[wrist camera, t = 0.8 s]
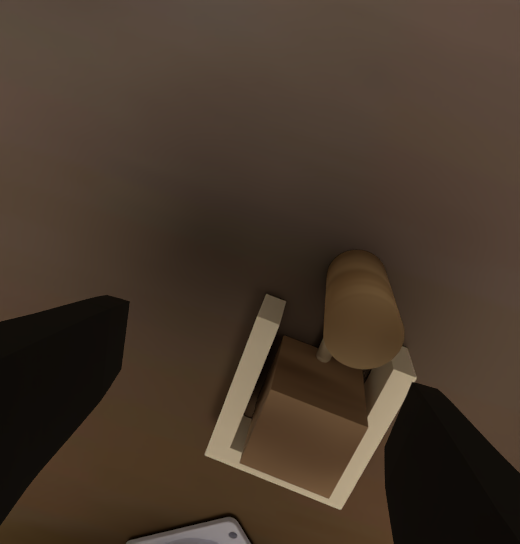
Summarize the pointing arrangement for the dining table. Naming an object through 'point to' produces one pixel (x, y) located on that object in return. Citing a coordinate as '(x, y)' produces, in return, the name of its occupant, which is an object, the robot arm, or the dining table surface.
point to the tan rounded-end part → (326, 380)
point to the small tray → (231, 423)
